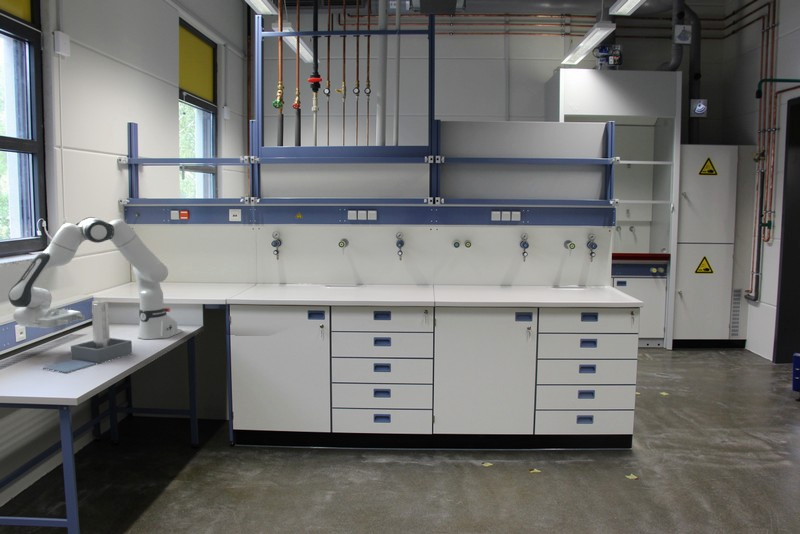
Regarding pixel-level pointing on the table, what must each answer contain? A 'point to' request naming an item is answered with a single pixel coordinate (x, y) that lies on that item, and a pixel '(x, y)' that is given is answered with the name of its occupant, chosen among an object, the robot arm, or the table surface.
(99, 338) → the light grey tall bar
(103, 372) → the table surface
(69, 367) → the mat
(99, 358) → the gray open bin
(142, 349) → the table surface
